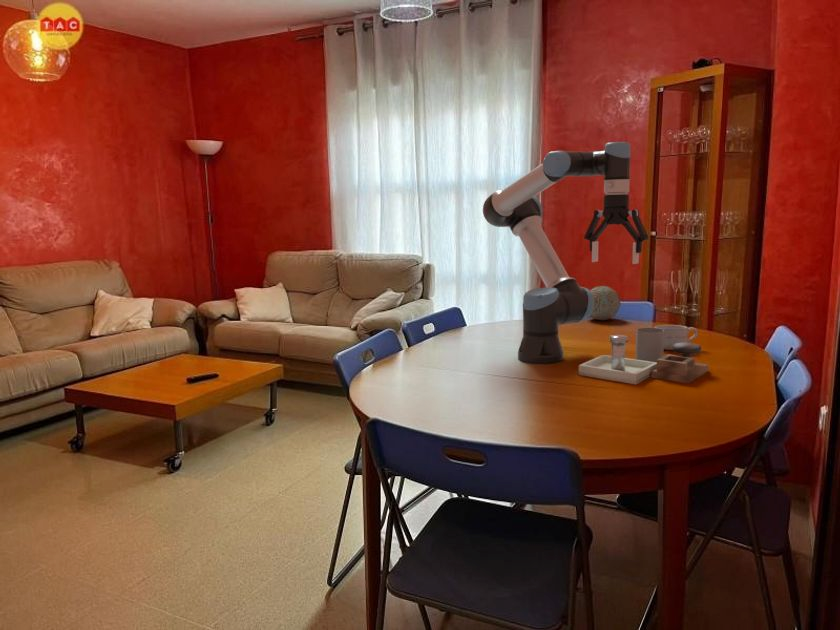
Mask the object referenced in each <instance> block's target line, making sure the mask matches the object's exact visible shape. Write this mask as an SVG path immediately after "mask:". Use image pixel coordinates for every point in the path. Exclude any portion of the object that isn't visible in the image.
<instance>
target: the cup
mask: <svg viewBox="0 0 840 630" xmlns="http://www.w3.org/2000/svg"><path fill="white" fill-rule="evenodd" d="M635 335H636V338H635V339H636V341H635V359H636V360H643V361H650V362H657V359H659V358H661V357H663V356H664V350H665V349H664V330H662V329H659V328H655V327H640V328H639V327H638V328H637V329H636V334H635Z"/></svg>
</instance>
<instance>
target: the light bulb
mask: <svg viewBox="0 0 840 630" xmlns="http://www.w3.org/2000/svg"><path fill="white" fill-rule="evenodd" d="M609 342H610V343H611V355H610V356H611V369H612V370H618V371H625V358H626V345H627V343H628V342H629V336H628V335H624V334H611V335H609Z"/></svg>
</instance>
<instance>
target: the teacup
mask: <svg viewBox="0 0 840 630" xmlns="http://www.w3.org/2000/svg"><path fill="white" fill-rule="evenodd" d="M654 328H659V329H662V330H664V350H667V351H673V345H674V344H676V343H690V342H691V341H692V340H694V339H695V338H696V337H697V336H698V330H697V328H696V327H692V326H691V327H687V326H685V325H678V324H662V325H661V324H660V325H655V326H654ZM691 331H693V332H694V333H693V335H692V336H691V337H689V338H688V335H689V332H691Z"/></svg>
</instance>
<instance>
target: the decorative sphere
mask: <svg viewBox="0 0 840 630" xmlns="http://www.w3.org/2000/svg"><path fill="white" fill-rule="evenodd" d="M589 291H590V292H591V293H592V295H593V299H594V306H593V311H592V313H591V315H590V316H589V317H591V318H593V319H595V320H597V321H606V320H607V321H608V320H610V319H612V318H613V317H615V316H616V315H617V313H618V312H619V310H620V307H621V297H620V296H619V294H618V292H617V291H616V290H615V289H613V288H612V287H610V286H607V285H598V286H595V287H593V288H592V289H589Z"/></svg>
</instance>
